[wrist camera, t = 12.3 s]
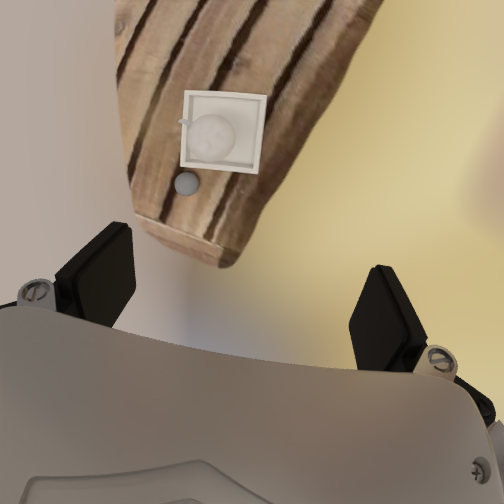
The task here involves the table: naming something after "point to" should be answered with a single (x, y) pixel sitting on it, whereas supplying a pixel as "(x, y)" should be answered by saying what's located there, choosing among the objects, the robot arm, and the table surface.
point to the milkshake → (211, 136)
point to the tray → (242, 112)
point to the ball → (186, 184)
